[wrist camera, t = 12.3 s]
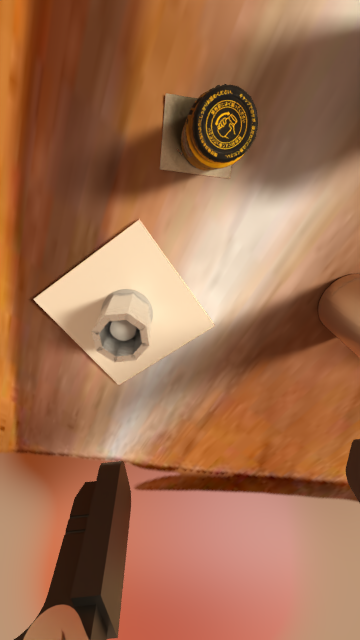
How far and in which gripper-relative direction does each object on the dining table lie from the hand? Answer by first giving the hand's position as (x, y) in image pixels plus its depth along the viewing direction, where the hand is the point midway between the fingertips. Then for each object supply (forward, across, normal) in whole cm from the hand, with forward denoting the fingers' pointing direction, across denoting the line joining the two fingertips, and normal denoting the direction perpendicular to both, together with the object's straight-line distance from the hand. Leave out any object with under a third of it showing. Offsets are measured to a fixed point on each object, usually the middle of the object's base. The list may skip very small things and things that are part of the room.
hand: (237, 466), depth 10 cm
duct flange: (+32, +8, +7) cm, 34 cm away
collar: (+31, +8, +7) cm, 33 cm away
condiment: (+32, -3, -13) cm, 35 cm away
